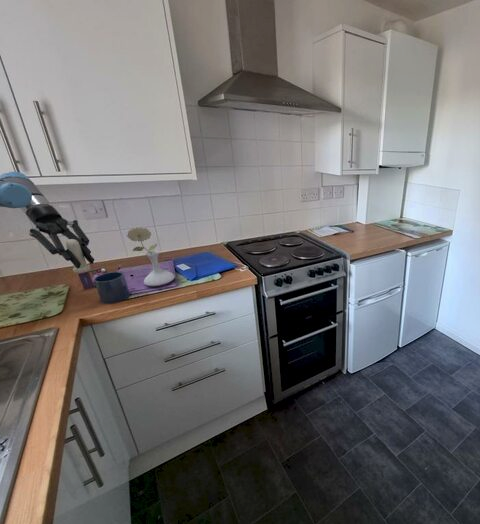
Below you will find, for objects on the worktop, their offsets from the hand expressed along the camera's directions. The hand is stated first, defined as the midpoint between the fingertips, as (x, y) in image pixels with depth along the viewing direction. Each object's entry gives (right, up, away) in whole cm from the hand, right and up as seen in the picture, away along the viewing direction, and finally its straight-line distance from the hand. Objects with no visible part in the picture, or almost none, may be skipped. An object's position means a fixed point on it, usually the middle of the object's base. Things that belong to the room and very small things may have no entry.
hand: (85, 263), depth 104 cm
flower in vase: (+9, -8, +25) cm, 28 cm away
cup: (0, -13, +13) cm, 19 cm away
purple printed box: (-16, -9, +23) cm, 29 cm away
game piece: (-4, -2, +3) cm, 5 cm away
